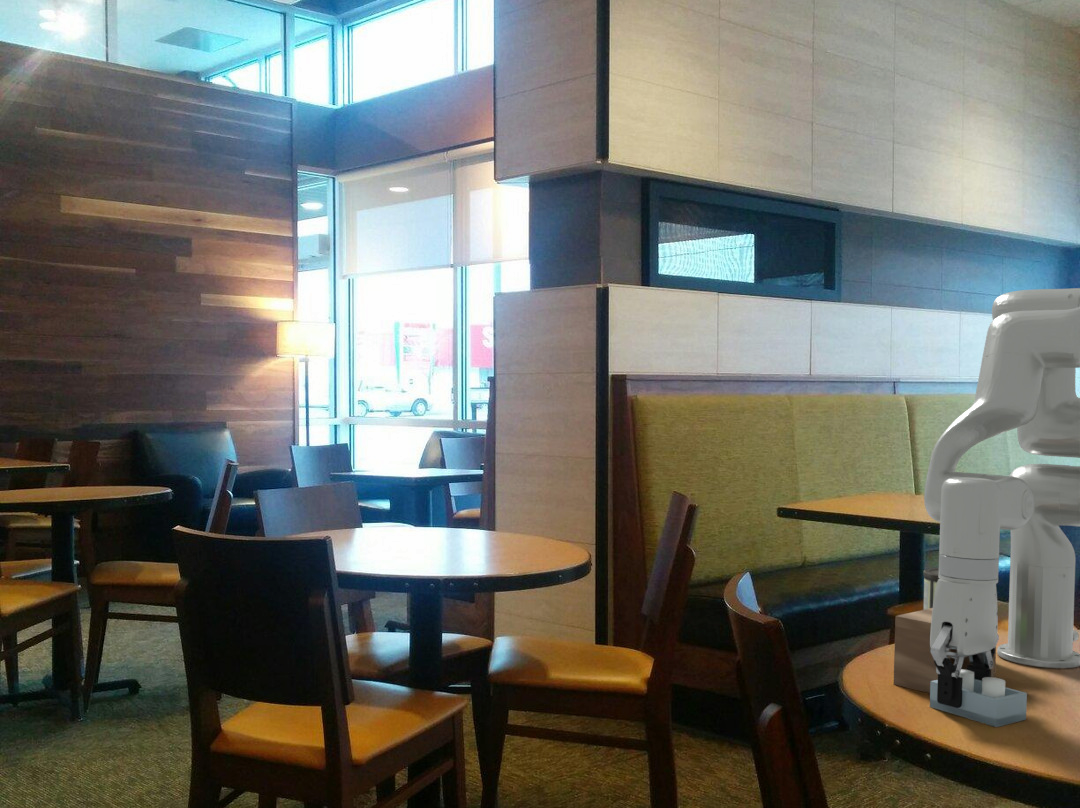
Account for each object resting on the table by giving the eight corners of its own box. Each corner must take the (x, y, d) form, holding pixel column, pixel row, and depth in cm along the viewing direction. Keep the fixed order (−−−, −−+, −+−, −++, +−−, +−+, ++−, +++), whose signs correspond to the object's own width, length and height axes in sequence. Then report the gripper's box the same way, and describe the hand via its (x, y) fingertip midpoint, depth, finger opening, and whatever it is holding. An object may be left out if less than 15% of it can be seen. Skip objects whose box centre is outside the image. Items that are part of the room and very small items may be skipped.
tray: (959, 700, 149) (960, 664, 149) (1026, 719, 141) (1027, 681, 141) (929, 706, 145) (930, 670, 145) (996, 727, 137) (997, 688, 137)
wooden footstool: (944, 669, 166) (946, 604, 166) (995, 680, 160) (997, 613, 160) (893, 684, 156) (895, 616, 156) (944, 697, 150) (946, 626, 150)
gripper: (974, 560, 153) (969, 684, 153) (908, 570, 142) (903, 704, 142) (1026, 568, 147) (1021, 697, 147) (961, 578, 136) (957, 718, 136)
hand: (963, 699), depth 145 cm, fingers closed on tray, 7 cm apart
